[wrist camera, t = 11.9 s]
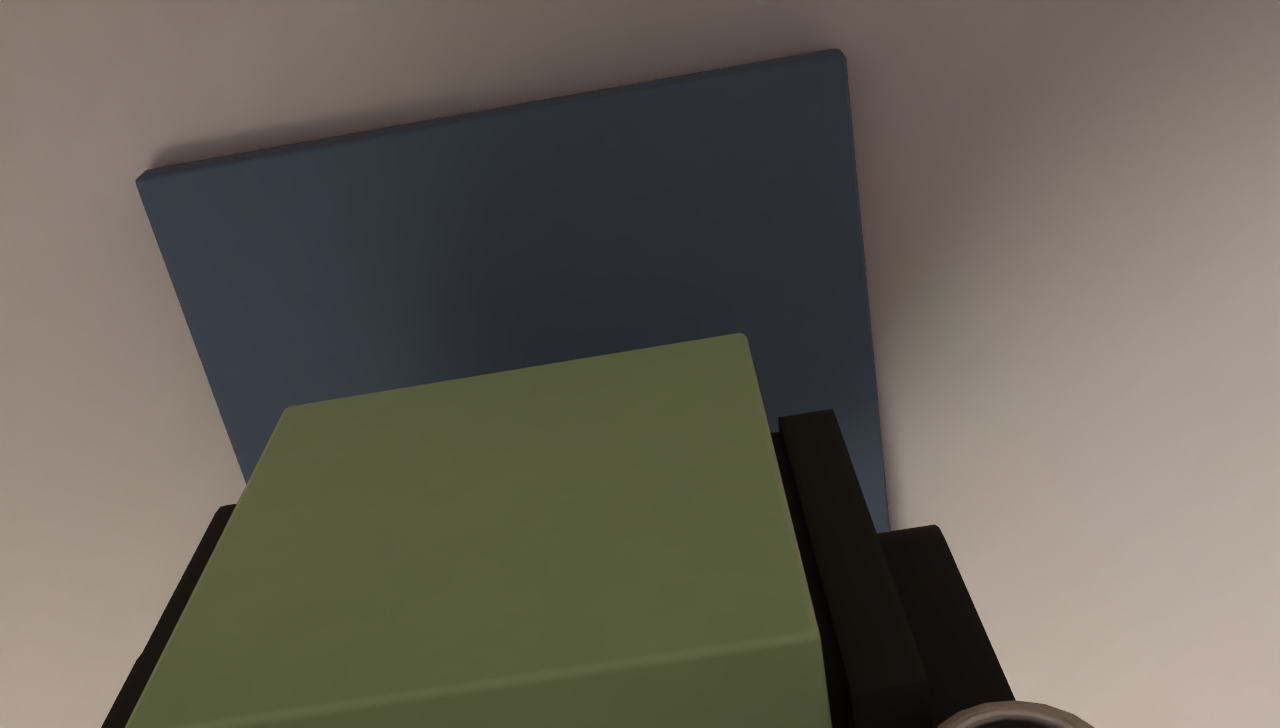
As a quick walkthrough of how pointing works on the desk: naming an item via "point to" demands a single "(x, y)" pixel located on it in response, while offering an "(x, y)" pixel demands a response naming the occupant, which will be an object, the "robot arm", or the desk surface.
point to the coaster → (538, 248)
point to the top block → (510, 561)
